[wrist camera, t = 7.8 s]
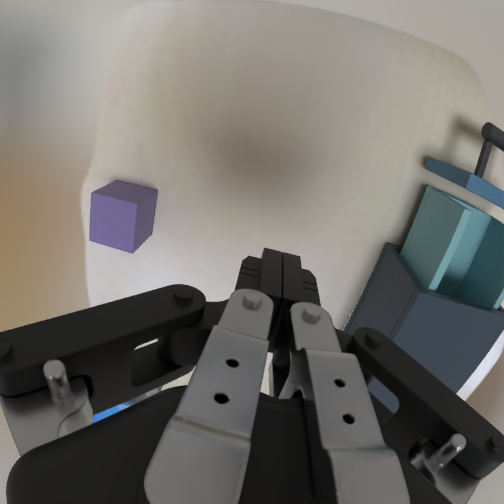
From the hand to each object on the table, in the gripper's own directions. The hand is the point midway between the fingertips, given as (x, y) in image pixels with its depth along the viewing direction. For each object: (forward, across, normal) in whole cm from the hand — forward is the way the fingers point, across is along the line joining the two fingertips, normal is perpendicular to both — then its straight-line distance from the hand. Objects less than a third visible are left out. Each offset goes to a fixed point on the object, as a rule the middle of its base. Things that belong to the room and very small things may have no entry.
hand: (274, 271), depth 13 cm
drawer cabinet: (+16, -17, +10) cm, 25 cm away
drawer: (+14, -17, -3) cm, 23 cm away
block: (+16, +13, +5) cm, 21 cm away
